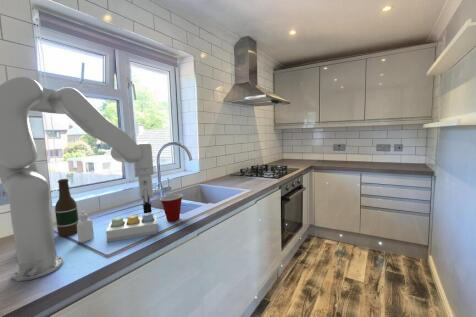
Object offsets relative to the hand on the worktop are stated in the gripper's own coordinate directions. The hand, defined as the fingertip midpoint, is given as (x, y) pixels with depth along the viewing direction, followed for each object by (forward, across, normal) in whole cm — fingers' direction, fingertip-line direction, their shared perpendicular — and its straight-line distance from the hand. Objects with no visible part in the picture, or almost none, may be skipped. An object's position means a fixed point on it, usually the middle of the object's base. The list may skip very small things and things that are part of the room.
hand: (147, 212), depth 105 cm
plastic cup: (+8, +8, -11) cm, 16 cm away
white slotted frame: (+8, 0, +6) cm, 10 cm away
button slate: (+5, 0, 0) cm, 5 cm away
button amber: (+5, 0, +6) cm, 8 cm away
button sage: (+4, 0, +12) cm, 13 cm away
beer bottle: (+8, +11, +33) cm, 36 cm away
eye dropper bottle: (+8, 0, +24) cm, 25 cm away
